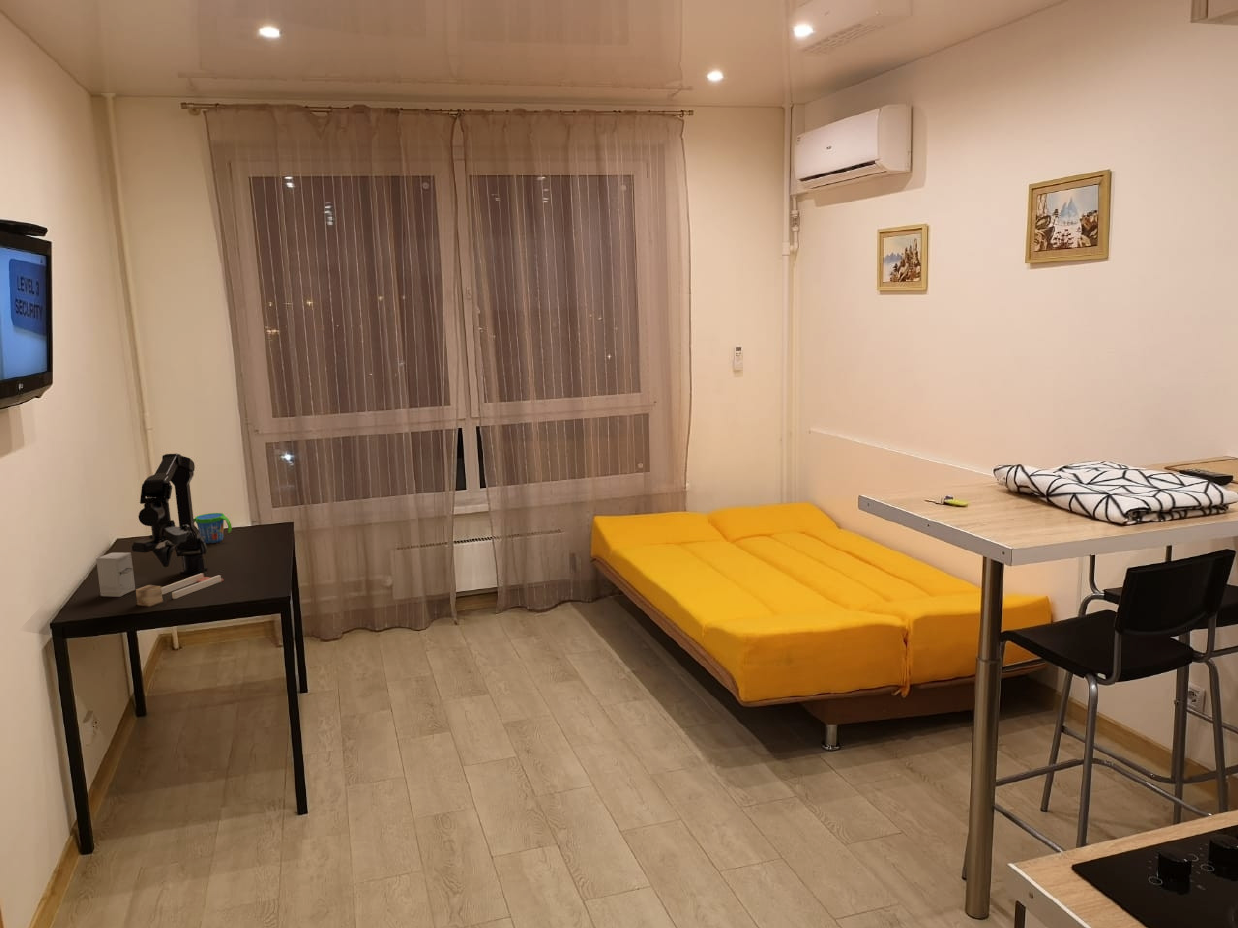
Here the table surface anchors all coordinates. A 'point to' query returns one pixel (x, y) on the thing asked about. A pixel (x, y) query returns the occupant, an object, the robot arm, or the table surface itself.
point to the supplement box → (115, 574)
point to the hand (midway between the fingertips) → (166, 566)
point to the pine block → (149, 595)
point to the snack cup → (212, 526)
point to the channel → (197, 578)
